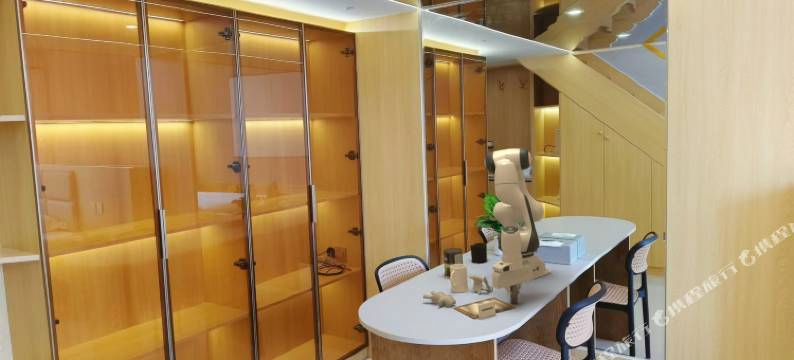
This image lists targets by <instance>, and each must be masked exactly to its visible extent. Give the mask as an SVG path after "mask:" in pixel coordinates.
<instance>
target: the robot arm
mask: <svg viewBox="0 0 794 360" xmlns="http://www.w3.org/2000/svg"><path fill="white" fill-rule="evenodd" d="M532 159H533V158H532V155H531V152H530V149H528V148H525V147H518V148H506V149H500V150H495V151H494V150H492V151H489V152H487V153H486V154H485V157H484V166H485V168H486V170H487V171H488V172H489V173H492V175H494V181H493V182H494V183H493V184H494V193H495V196H496V198H497V199H498V200H499V202H496V203H495V205H493V206H494V207H493V210H492V214H493V217H494V218H495V220H496V221H498V223H500V224H501V225H502V226H503V228H502V229H501V232H500V233H499V234H498V235H497V236H496V237H497V242H498V247H497V249H498V250H500V251H501V253H502V255H501V259H500V260H499V261H498V262H496V263H494V264H493V265H492V270H493V272H492V275H491V279H492V280H491V282H492V287H493V289H494V288H495V289H498V290H500V289H504V290H505V291H506V294H507V296H508V297H510V296H511V295H512V291H510V286H513V285H517V290H518V295H519V294H521V292H522V291H521V290H522V287H523V284H524V283H528V282H532V281H533V280H536V279H537V278H541V277H544V276H546V275H549V274H552V273H551V270H550V269H548V268H546V264H545V261H544V260H543V259H541V258H540V257H539V256H537V255H536V254H535V253H538V252H539V250H538V249H539V248H540V245H541V240H540V237H539V233H538V231H537V228H536V224H535V222H536V223H537V222H541V221H542V219H543V217H544V216H545V215H544V214H545V211H544V210H545V209H544V207H543V205H542V204H541V203H540V202H539V201H537V200H536V199H535V198H533V197H532V195H531V194H530V193H529V191H528V188H527V184H526V180H525V173H524V170H528V169H529V168H530V167H531V165H532V162H533V161H532ZM519 223H523V224H525V228H523V227H522V226H520V225H521V224H519Z"/></svg>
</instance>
